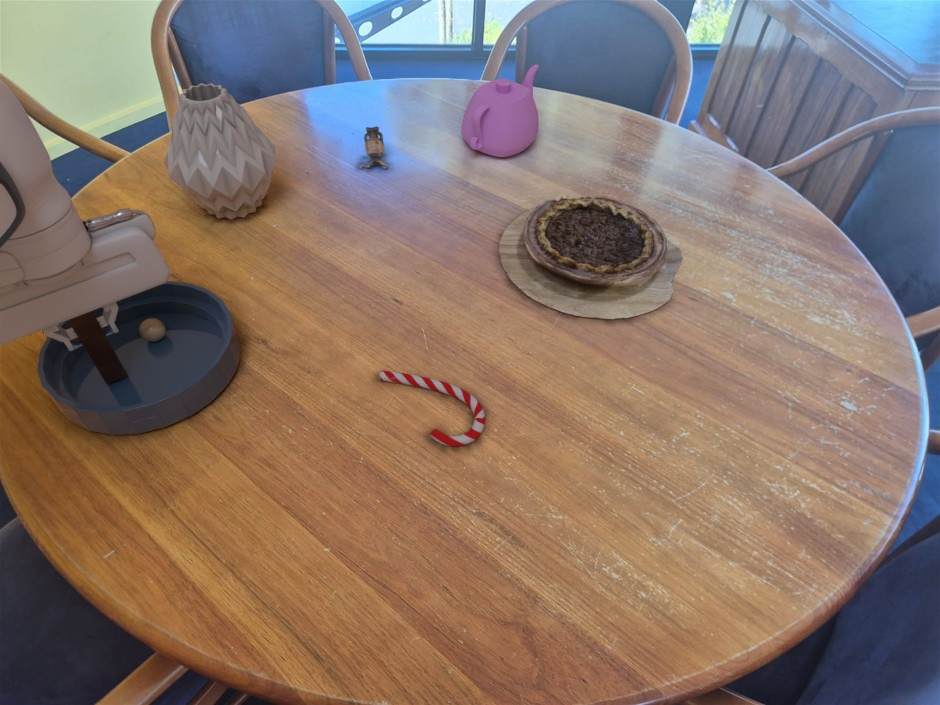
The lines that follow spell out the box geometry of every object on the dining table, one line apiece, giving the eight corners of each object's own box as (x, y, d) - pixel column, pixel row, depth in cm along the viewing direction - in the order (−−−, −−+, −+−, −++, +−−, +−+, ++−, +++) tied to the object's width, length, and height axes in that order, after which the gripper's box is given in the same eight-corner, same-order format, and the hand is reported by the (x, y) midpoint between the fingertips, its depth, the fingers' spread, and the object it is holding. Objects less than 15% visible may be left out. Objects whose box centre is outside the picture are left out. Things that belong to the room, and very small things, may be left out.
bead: (139, 346, 77) (130, 323, 76) (152, 342, 80) (143, 320, 79) (162, 339, 77) (153, 316, 76) (173, 335, 80) (165, 313, 79)
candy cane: (395, 353, 78) (499, 404, 73) (395, 360, 79) (498, 411, 74) (356, 394, 73) (464, 452, 68) (357, 401, 74) (464, 458, 69)
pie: (649, 345, 82) (659, 318, 78) (466, 279, 90) (468, 251, 86) (698, 235, 99) (708, 208, 96) (541, 187, 107) (544, 161, 104)
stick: (106, 384, 73) (52, 295, 63) (100, 372, 74) (46, 283, 64) (128, 375, 74) (77, 286, 64) (121, 363, 75) (71, 274, 65)
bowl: (79, 469, 66) (59, 443, 63) (40, 348, 78) (21, 321, 74) (268, 385, 75) (259, 358, 72) (207, 288, 87) (198, 261, 83)
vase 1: (222, 170, 107) (190, 60, 94) (305, 191, 104) (284, 80, 90) (158, 220, 97) (113, 105, 83) (248, 246, 93) (216, 130, 80)
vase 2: (363, 153, 113) (360, 121, 109) (392, 154, 113) (390, 123, 109) (358, 168, 109) (354, 137, 105) (388, 170, 109) (386, 138, 105)
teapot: (502, 175, 110) (507, 110, 101) (442, 150, 115) (442, 87, 106) (559, 132, 121) (568, 71, 112) (502, 111, 126) (507, 51, 117)
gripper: (134, 188, 66) (175, 287, 76) (-96, 259, 57) (-15, 361, 67) (155, 217, 62) (195, 316, 72) (-85, 296, 53) (-2, 397, 63)
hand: (93, 338), depth 69 cm, fingers closed on stick, 2 cm apart
